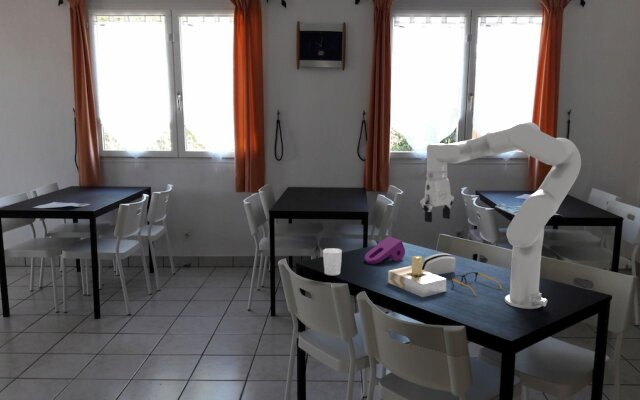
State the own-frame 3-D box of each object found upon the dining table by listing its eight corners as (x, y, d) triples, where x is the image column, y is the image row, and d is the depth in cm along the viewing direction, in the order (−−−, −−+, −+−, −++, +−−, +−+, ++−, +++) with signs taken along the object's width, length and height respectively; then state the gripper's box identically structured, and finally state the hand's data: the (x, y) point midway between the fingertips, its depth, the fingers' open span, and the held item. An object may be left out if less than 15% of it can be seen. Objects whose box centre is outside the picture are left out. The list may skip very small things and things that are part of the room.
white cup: (344, 274, 220) (344, 251, 218) (327, 277, 217) (327, 253, 216) (337, 269, 227) (337, 247, 226) (320, 271, 225) (320, 249, 223)
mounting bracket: (379, 277, 235) (407, 255, 243) (373, 262, 232) (401, 240, 239) (366, 272, 243) (393, 250, 250) (360, 257, 240) (388, 236, 247)
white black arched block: (446, 268, 227) (452, 249, 223) (453, 274, 224) (459, 255, 219) (415, 274, 220) (420, 254, 216) (421, 280, 216) (427, 260, 212)
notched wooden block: (427, 284, 207) (428, 271, 206) (404, 289, 201) (404, 277, 200) (410, 277, 216) (411, 265, 215) (388, 282, 209) (388, 270, 209)
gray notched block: (446, 291, 199) (446, 278, 198) (422, 297, 193) (423, 284, 192) (427, 284, 207) (428, 271, 206) (404, 289, 201) (404, 277, 200)
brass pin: (423, 287, 203) (424, 257, 201) (416, 289, 201) (416, 259, 199) (416, 284, 207) (417, 255, 205) (409, 286, 205) (409, 256, 203)
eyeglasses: (475, 280, 213) (475, 271, 212) (503, 290, 200) (503, 280, 199) (449, 286, 206) (449, 276, 205) (476, 297, 193) (476, 287, 193)
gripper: (427, 178, 190) (428, 224, 193) (460, 174, 200) (460, 218, 202) (413, 177, 197) (414, 221, 199) (445, 173, 206) (445, 216, 209)
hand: (437, 220), depth 201 cm, fingers open, 9 cm apart
